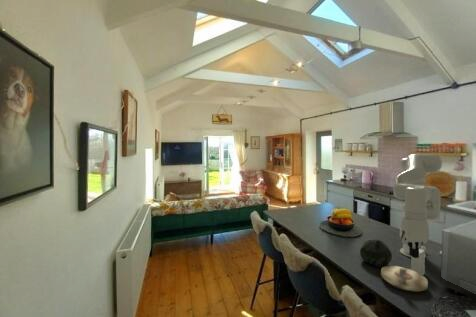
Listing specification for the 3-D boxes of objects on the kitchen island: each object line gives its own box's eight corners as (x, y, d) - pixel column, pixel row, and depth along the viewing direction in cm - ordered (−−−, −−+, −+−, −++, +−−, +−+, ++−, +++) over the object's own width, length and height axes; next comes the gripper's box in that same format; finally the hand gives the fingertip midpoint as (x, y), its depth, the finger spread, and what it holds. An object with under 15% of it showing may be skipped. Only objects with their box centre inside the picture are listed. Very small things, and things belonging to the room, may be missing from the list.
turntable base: (397, 273, 118) (398, 269, 118) (429, 288, 105) (429, 284, 105) (379, 278, 113) (379, 275, 113) (409, 295, 100) (409, 291, 100)
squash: (364, 244, 140) (362, 231, 131) (393, 252, 130) (393, 238, 122) (359, 266, 132) (356, 253, 124) (390, 276, 123) (389, 263, 114)
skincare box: (420, 277, 114) (421, 253, 113) (410, 273, 118) (410, 250, 117) (425, 273, 117) (425, 250, 117) (414, 269, 121) (415, 247, 121)
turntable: (427, 277, 110) (427, 261, 110) (428, 296, 96) (429, 277, 96) (383, 265, 121) (383, 251, 121) (378, 281, 107) (379, 264, 107)
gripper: (424, 212, 104) (422, 252, 105) (392, 213, 103) (391, 253, 104) (439, 217, 96) (437, 260, 97) (405, 218, 96) (404, 261, 96)
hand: (413, 256), depth 100 cm, fingers closed
